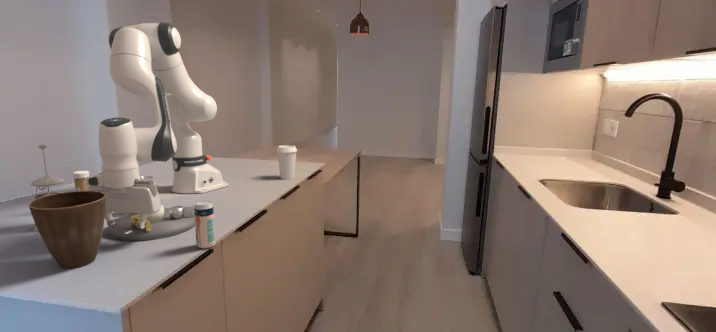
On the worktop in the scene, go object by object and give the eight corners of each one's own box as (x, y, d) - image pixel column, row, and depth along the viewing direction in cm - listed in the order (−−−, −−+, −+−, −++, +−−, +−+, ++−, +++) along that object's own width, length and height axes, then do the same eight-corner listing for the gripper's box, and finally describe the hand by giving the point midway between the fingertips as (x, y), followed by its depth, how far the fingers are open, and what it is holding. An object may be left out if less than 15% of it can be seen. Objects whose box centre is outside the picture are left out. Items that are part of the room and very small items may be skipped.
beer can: (199, 242, 113) (196, 200, 110) (217, 242, 113) (215, 200, 111) (194, 249, 108) (191, 206, 106) (212, 249, 108) (210, 205, 106)
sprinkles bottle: (93, 210, 140) (88, 172, 137) (77, 212, 137) (72, 173, 135) (93, 207, 143) (88, 169, 141) (77, 209, 141) (72, 171, 138)
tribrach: (173, 209, 142) (172, 190, 141) (211, 225, 127) (210, 204, 125) (95, 227, 124) (93, 205, 122) (129, 247, 109) (126, 223, 107)
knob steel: (169, 219, 124) (168, 209, 124) (170, 215, 128) (169, 205, 127) (199, 216, 127) (198, 206, 127) (199, 213, 131) (198, 203, 130)
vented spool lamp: (41, 233, 118) (29, 148, 113) (24, 226, 124) (12, 144, 119) (79, 224, 126) (69, 144, 121) (61, 217, 132) (51, 140, 127)
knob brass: (129, 226, 118) (128, 215, 118) (143, 222, 121) (142, 212, 121) (141, 233, 113) (140, 222, 112) (156, 229, 116) (155, 218, 115)
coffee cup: (302, 177, 193) (301, 146, 190) (288, 181, 185) (287, 148, 182) (286, 175, 198) (286, 144, 195) (272, 178, 190) (271, 146, 187)
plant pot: (92, 275, 93) (83, 207, 90) (22, 277, 92) (11, 208, 89) (123, 249, 107) (117, 190, 104) (64, 250, 106) (55, 191, 103)
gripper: (163, 177, 112) (167, 225, 115) (98, 174, 116) (103, 220, 119) (148, 183, 106) (152, 233, 109) (79, 179, 110) (85, 228, 112)
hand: (126, 226), depth 114 cm, fingers open, 8 cm apart
